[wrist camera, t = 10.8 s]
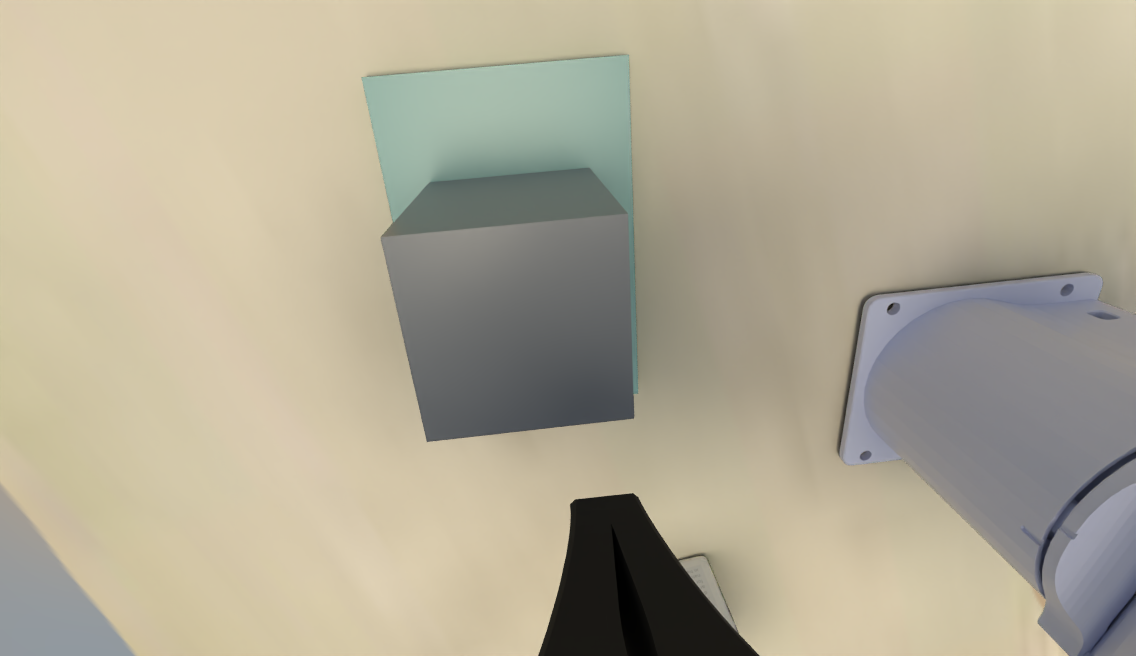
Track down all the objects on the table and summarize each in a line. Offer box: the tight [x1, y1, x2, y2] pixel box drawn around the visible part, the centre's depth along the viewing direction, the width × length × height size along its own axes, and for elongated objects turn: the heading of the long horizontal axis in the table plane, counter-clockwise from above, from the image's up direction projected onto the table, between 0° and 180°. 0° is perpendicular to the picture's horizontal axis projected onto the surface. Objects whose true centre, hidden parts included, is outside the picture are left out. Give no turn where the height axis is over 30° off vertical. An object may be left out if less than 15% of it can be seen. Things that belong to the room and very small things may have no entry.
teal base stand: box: [362, 55, 638, 394], centre depth 16 cm, size 8×12×6 cm, turn 4°
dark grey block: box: [381, 168, 634, 442], centre depth 16 cm, size 5×5×7 cm
